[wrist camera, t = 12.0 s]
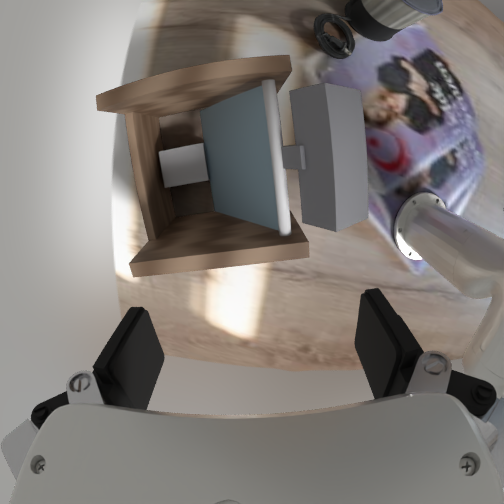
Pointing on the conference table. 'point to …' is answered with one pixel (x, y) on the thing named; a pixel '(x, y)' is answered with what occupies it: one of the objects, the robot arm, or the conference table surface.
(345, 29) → the milk frother
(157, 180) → the stand
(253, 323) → the conference table surface
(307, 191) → the trapdoor
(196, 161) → the grey cube-like block
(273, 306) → the conference table surface
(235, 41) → the conference table surface
